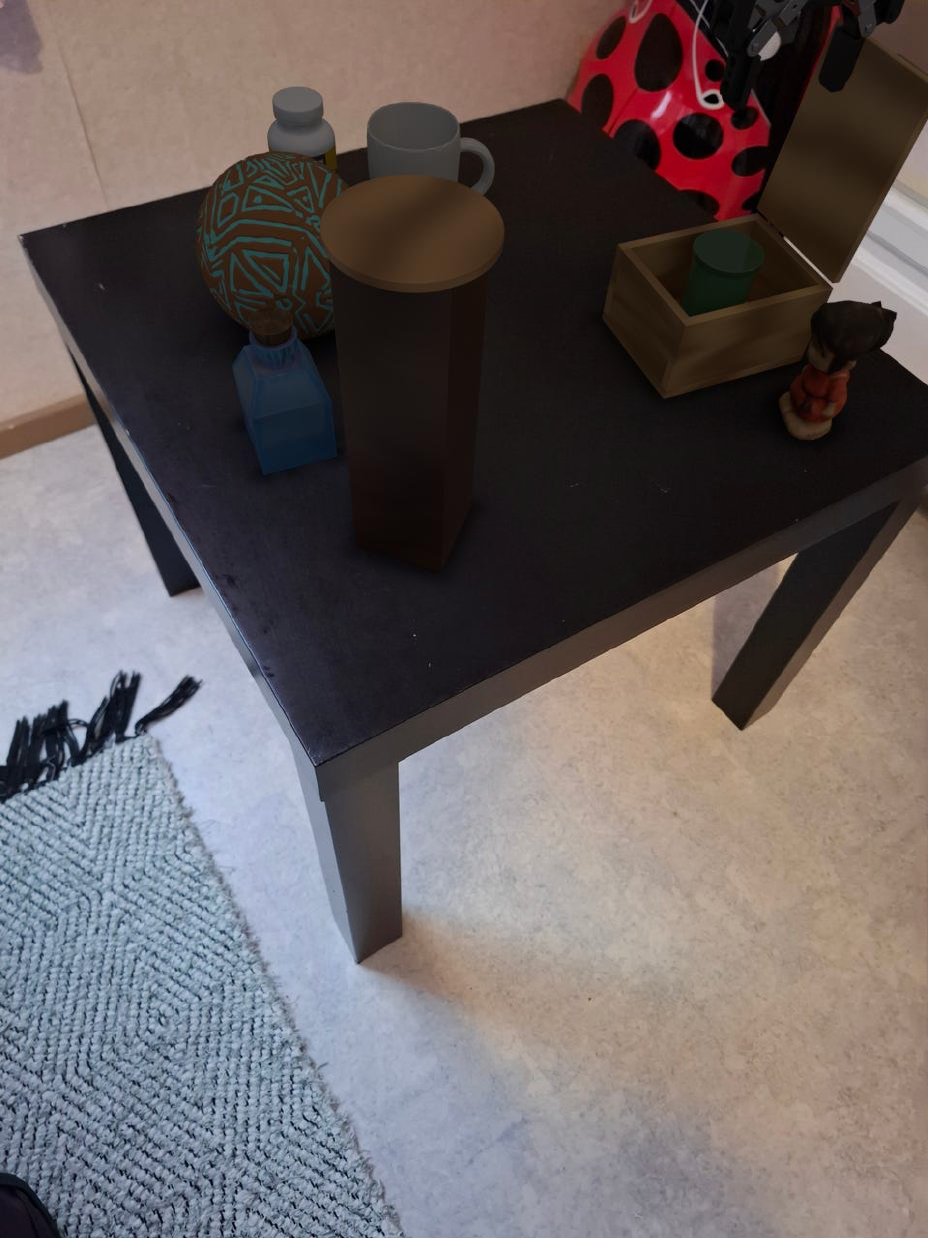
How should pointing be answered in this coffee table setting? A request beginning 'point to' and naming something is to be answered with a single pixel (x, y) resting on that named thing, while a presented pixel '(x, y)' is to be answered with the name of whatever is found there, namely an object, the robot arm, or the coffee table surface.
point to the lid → (845, 155)
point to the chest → (716, 340)
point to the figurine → (832, 363)
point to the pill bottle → (302, 126)
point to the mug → (421, 144)
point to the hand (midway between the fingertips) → (781, 96)
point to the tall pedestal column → (410, 354)
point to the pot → (720, 271)
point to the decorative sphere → (269, 239)
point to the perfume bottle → (282, 395)
